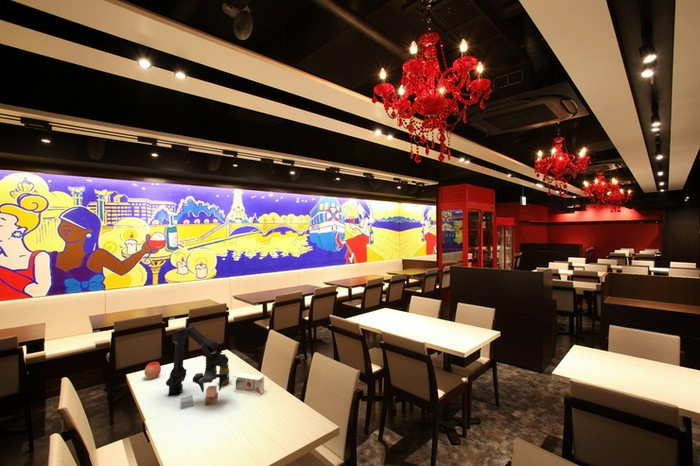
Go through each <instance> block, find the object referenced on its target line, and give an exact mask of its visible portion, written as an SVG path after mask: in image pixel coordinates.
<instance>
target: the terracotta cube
mask: <svg viewBox="0 0 700 466" xmlns="http://www.w3.org/2000/svg"><path fill="white" fill-rule="evenodd" d="M217 386H218V384H216V385H208V386H207V387H206V389H205V391H206V392H205V394H206V395H205V397H206V398H209V397H215V395H216V394H217V390H218V387H217Z"/></svg>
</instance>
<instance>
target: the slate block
mask: <svg viewBox="0 0 700 466" xmlns="http://www.w3.org/2000/svg"><path fill="white" fill-rule="evenodd" d="M193 396H194V395H193V394H191V395H187V396H183V397H180V409H181V410H185V409H188V408H192V407H194V397H193Z"/></svg>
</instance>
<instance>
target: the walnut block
mask: <svg viewBox="0 0 700 466" xmlns="http://www.w3.org/2000/svg"><path fill="white" fill-rule="evenodd" d="M218 399H219V393H218V392H217V394H216V395H215V397H209V398H206V396H205V397H204V406H212V405H217V403H218Z"/></svg>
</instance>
